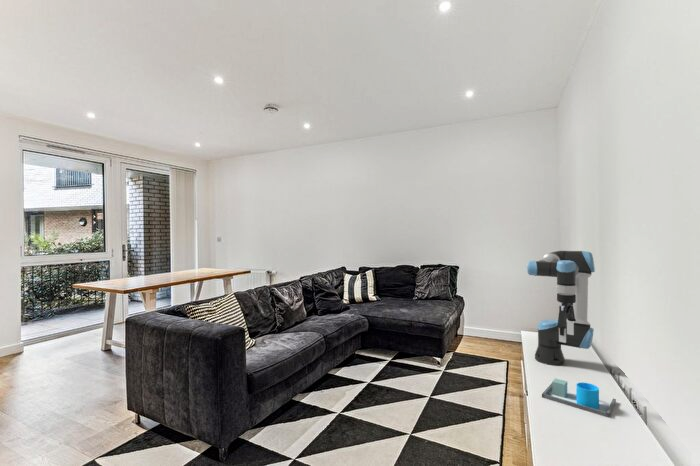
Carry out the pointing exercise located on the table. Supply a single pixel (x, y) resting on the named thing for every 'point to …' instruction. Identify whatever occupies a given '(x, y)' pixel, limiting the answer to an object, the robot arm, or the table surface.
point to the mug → (587, 395)
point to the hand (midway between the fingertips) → (566, 338)
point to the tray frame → (606, 414)
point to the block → (559, 387)
